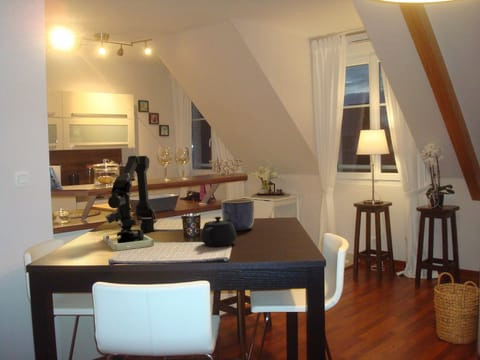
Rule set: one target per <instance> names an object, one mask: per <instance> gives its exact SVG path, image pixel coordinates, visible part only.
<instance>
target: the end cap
mask: <svg viewBox="0 0 480 360" xmlns="http://www.w3.org/2000/svg"><path fill="white" fill-rule="evenodd" d="M144 235H145V234H144V233H143V231H142V230H140V229H131V230H128V229H121V228H120V231H118V232H117V233H116V237H120V238H117V239H116V243H117V244H120V243H128V242H136V241H143V238H144Z"/></svg>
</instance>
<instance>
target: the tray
mask: <svg viewBox="0 0 480 360" xmlns="http://www.w3.org/2000/svg"><path fill="white" fill-rule="evenodd" d="M107 245H108V247H110V249H112V250H113V251H114V252H115V251H116V252H117V251H122V250H130V249H137V248H138V249H140V248H145V247H148V248H149V247H154V246H155V242H154V239H153V238H152V237H149V236H147V235H146V234H144V238H143V241H136V242H128V243H117V242H115V241H113V240H112V239H111V238H109V239H108V243H107ZM127 246H130V247H127Z"/></svg>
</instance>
